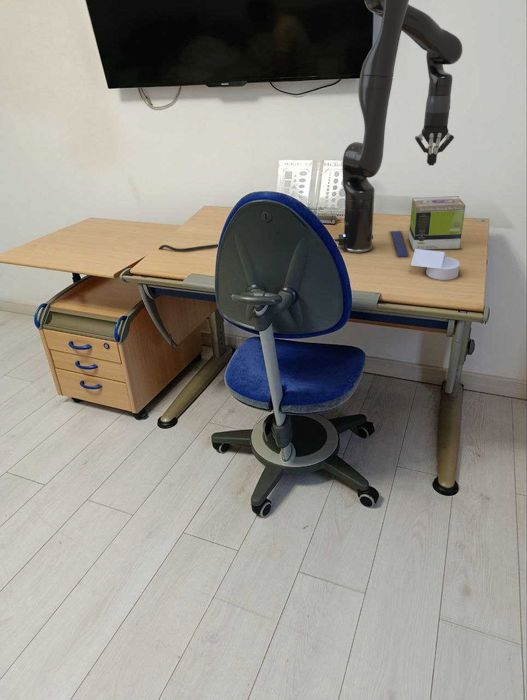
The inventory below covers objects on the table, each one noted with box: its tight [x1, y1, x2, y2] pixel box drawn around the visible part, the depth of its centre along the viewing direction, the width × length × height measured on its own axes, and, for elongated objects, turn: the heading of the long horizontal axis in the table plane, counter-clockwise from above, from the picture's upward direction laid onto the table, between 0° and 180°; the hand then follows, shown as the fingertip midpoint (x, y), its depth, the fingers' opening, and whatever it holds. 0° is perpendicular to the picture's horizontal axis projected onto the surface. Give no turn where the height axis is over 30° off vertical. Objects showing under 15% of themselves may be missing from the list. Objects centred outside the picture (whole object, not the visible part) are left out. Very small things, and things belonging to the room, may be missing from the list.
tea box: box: [408, 195, 466, 251], centre depth 164 cm, size 15×10×15 cm
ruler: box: [391, 230, 408, 258], centre depth 170 cm, size 3×22×1 cm, turn 173°
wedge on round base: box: [410, 249, 461, 281], centre depth 149 cm, size 9×7×13 cm
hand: (430, 164), depth 173 cm, fingers closed
